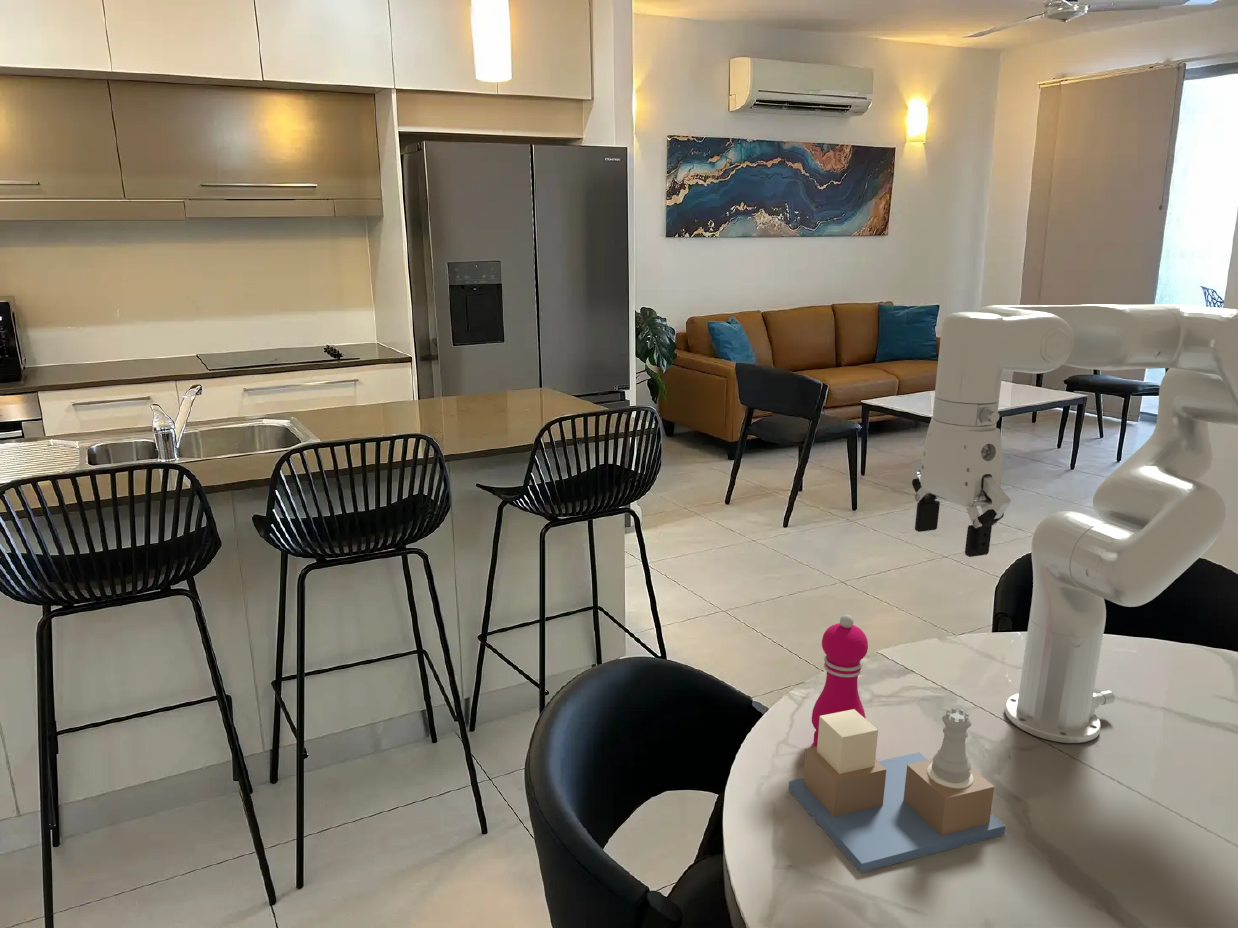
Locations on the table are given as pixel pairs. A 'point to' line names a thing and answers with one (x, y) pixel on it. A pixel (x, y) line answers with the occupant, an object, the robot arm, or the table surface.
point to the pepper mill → (841, 670)
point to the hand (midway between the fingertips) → (950, 542)
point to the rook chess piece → (953, 749)
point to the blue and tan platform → (887, 798)
